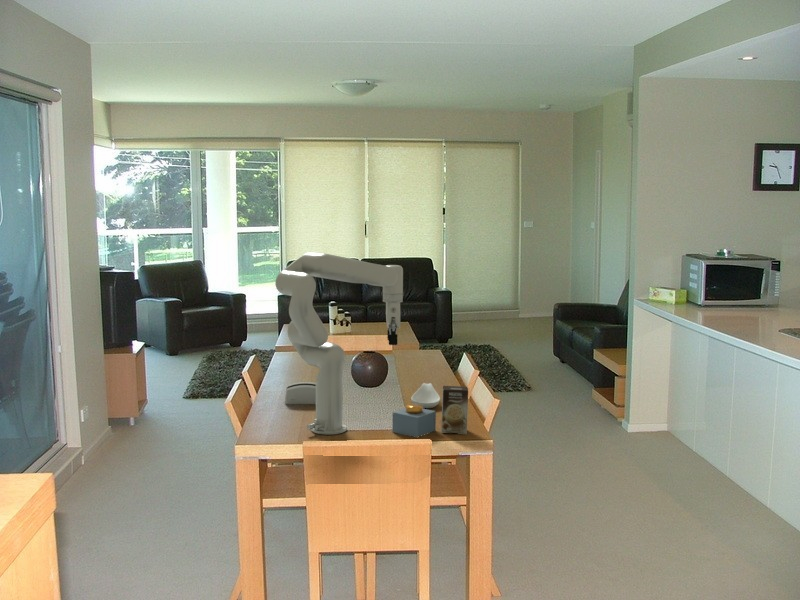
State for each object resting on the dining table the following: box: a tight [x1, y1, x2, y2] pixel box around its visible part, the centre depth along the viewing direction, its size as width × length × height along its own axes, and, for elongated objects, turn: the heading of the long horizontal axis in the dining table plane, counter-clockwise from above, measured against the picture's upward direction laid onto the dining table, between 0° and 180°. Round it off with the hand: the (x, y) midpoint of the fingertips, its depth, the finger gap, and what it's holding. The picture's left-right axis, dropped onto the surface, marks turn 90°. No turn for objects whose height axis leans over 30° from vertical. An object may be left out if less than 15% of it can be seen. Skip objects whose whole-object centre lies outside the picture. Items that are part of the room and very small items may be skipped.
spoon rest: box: [410, 382, 441, 410], centre depth 316 cm, size 24×12×7 cm, turn 177°
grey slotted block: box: [284, 381, 316, 405], centre depth 314 cm, size 17×5×10 cm, turn 94°
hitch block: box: [391, 407, 437, 438], centre depth 276 cm, size 11×11×7 cm
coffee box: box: [440, 385, 469, 435], centre depth 276 cm, size 9×6×16 cm
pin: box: [405, 403, 424, 414], centre depth 276 cm, size 6×6×9 cm
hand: (392, 342), depth 294 cm, fingers open, 9 cm apart
